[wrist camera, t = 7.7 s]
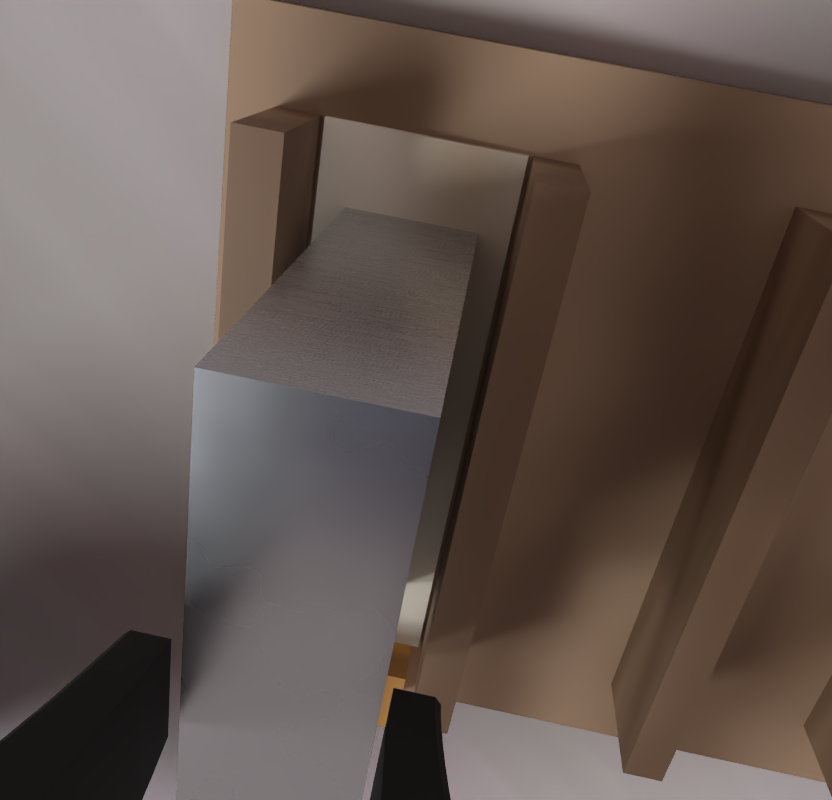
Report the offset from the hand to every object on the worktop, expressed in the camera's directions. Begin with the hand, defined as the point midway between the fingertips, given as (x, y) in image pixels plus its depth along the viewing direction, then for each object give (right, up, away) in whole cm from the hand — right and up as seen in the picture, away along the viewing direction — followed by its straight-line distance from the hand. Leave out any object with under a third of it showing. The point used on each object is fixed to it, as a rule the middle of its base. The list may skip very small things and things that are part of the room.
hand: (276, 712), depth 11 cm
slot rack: (+7, +3, +9) cm, 12 cm away
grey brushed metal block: (+1, +4, +8) cm, 9 cm away
